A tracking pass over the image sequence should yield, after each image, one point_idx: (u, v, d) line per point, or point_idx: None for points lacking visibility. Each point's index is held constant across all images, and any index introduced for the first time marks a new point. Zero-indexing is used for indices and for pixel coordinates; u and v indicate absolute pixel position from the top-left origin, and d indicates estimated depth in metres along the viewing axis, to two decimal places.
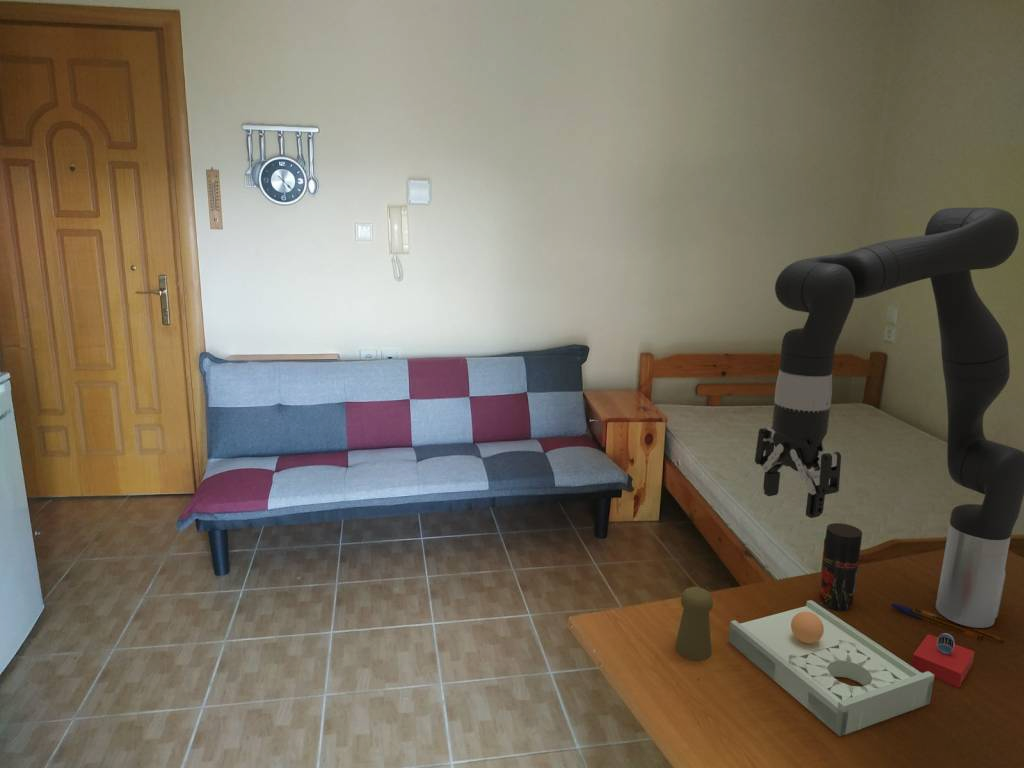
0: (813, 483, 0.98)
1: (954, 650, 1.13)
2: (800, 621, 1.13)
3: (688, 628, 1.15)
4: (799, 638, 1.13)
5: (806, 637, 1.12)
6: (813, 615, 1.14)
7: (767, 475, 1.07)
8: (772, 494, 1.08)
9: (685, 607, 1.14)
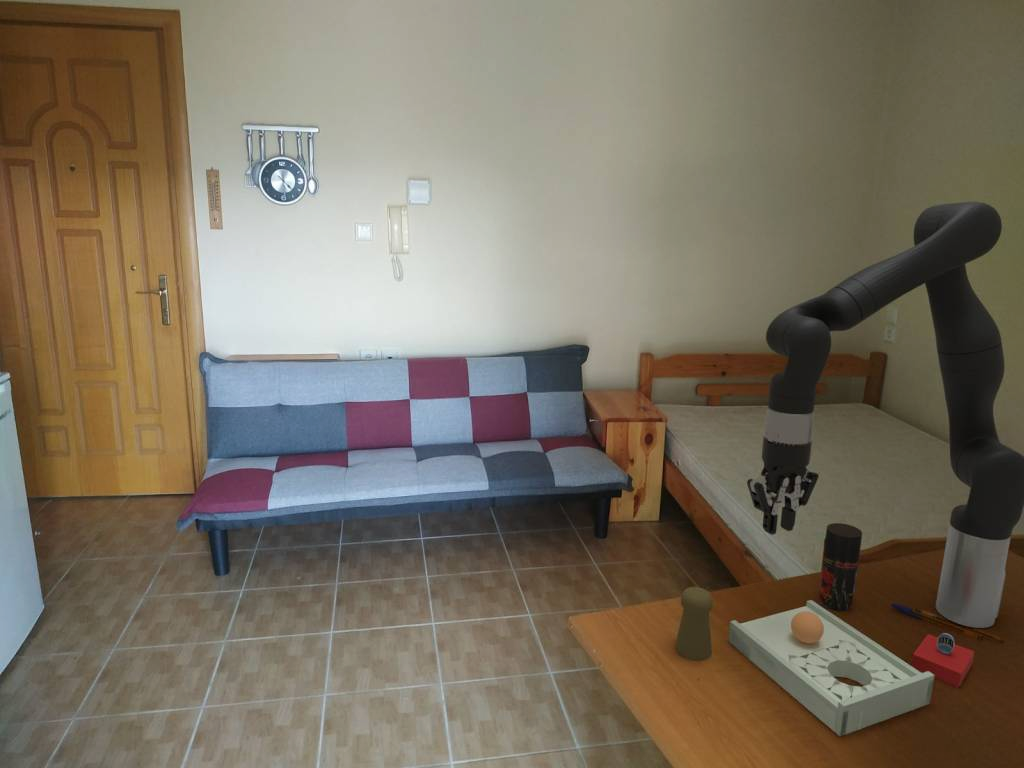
0: (797, 501, 1.18)
1: (954, 650, 1.13)
2: (800, 621, 1.13)
3: (688, 628, 1.15)
4: (799, 638, 1.13)
5: (806, 637, 1.12)
6: (813, 615, 1.14)
7: (776, 516, 1.16)
8: None
9: (685, 607, 1.14)
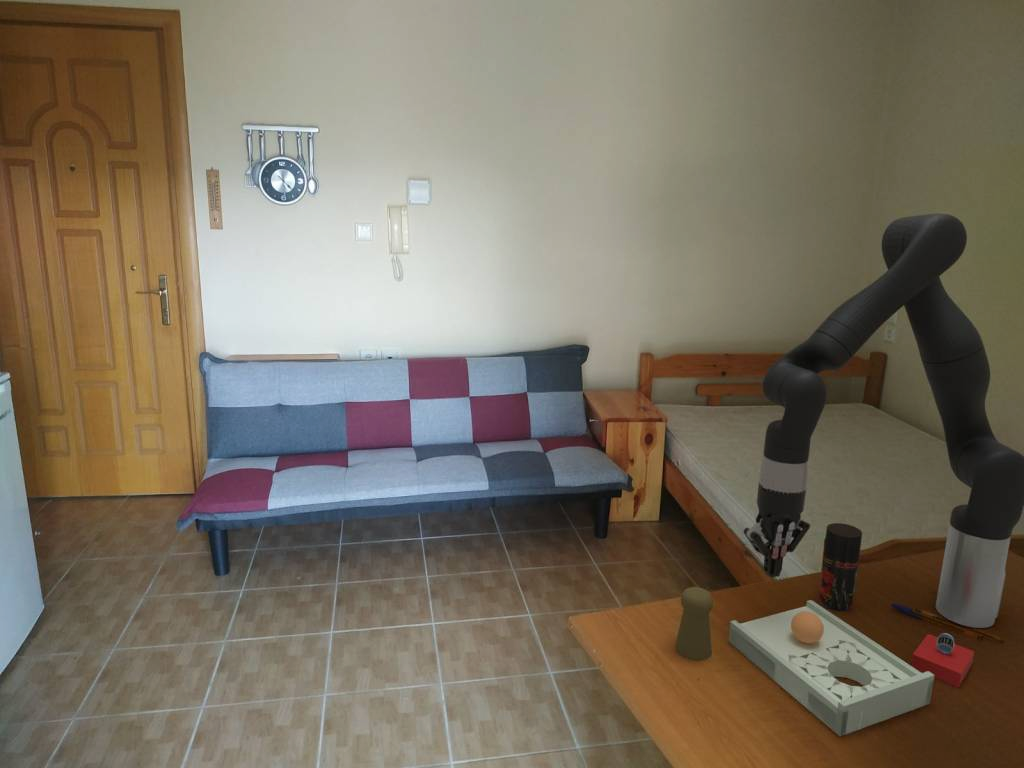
0: (786, 549, 1.19)
1: (954, 650, 1.13)
2: (800, 621, 1.13)
3: (688, 628, 1.15)
4: (799, 638, 1.13)
5: (806, 637, 1.12)
6: (813, 615, 1.14)
7: (776, 560, 1.19)
8: None
9: (685, 607, 1.14)
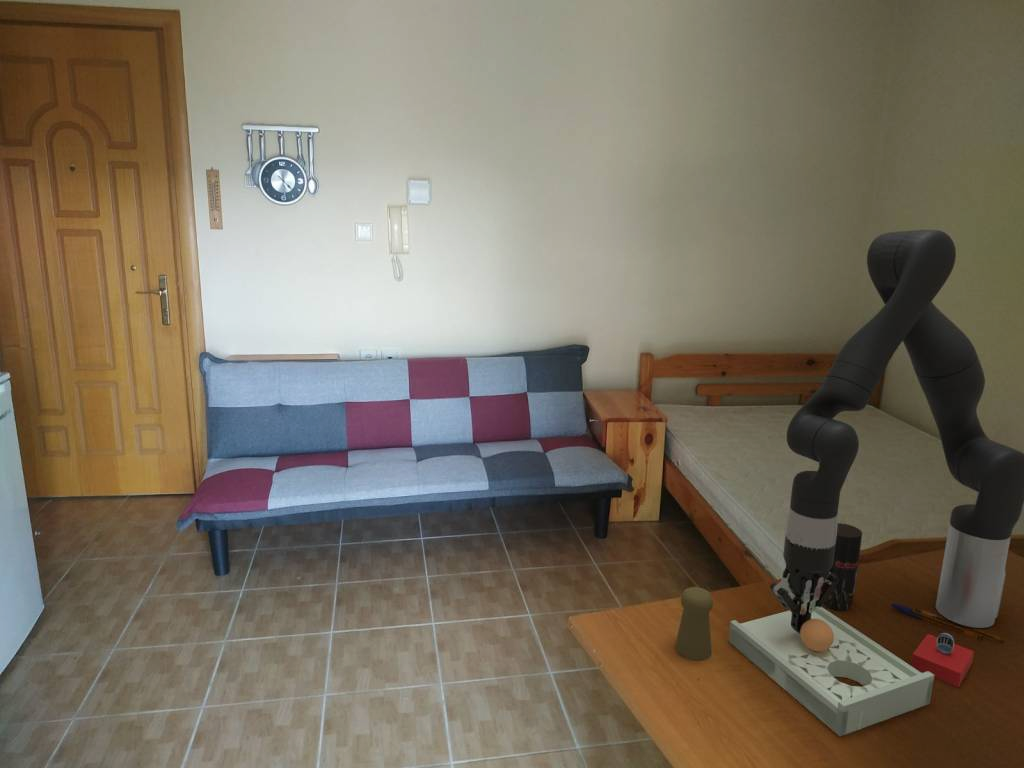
0: (814, 604, 1.15)
1: (954, 650, 1.13)
2: (814, 637, 1.10)
3: (688, 628, 1.15)
4: (804, 643, 1.12)
5: (812, 649, 1.11)
6: (830, 634, 1.10)
7: (804, 616, 1.14)
8: None
9: (685, 607, 1.14)
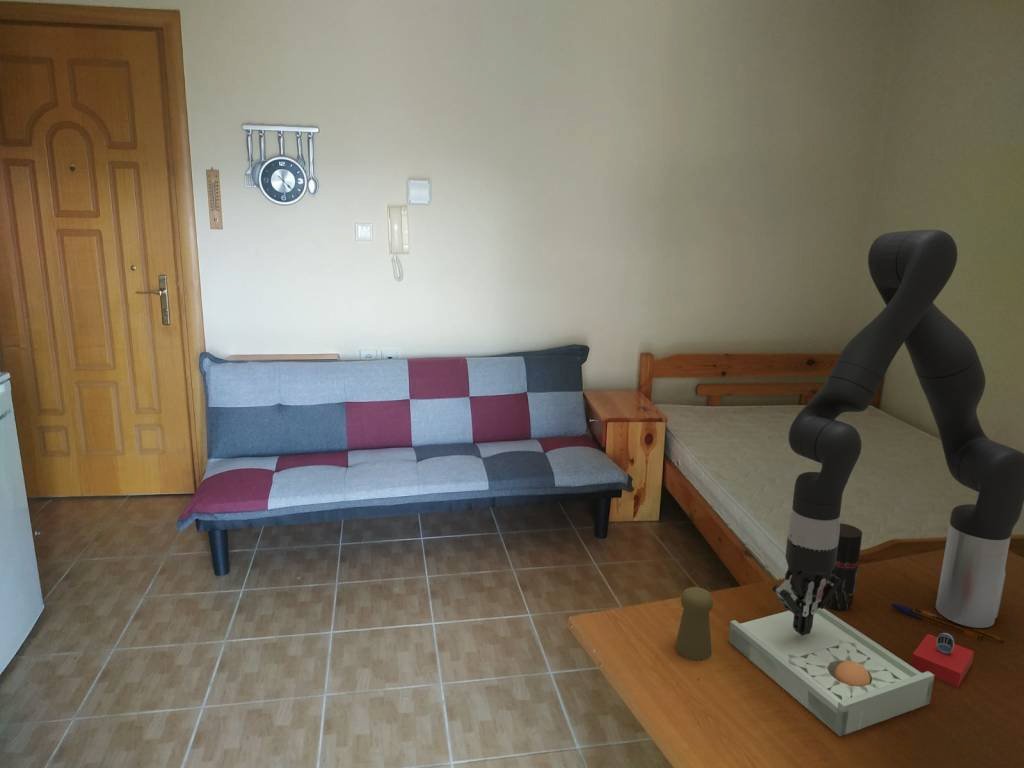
0: (816, 605, 1.14)
1: (954, 650, 1.13)
2: (834, 673, 1.08)
3: (688, 628, 1.15)
4: None
5: (844, 673, 1.05)
6: None
7: (807, 617, 1.14)
8: None
9: (685, 607, 1.14)
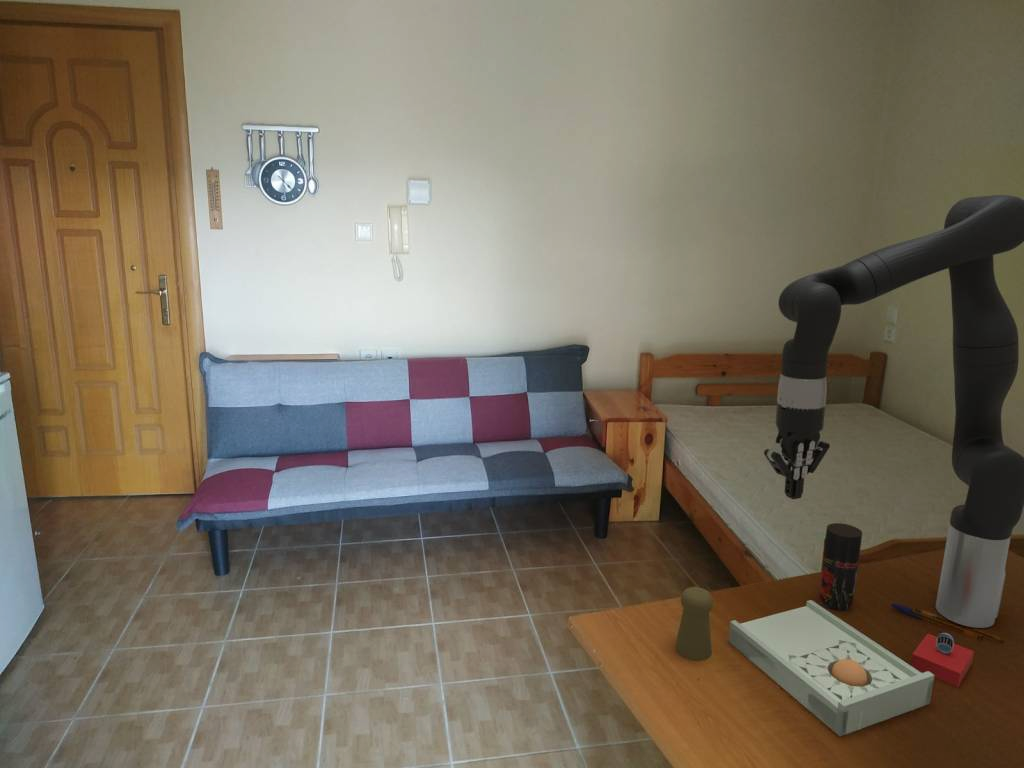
0: (806, 469, 1.19)
1: (953, 650, 1.13)
2: (831, 673, 1.08)
3: (688, 628, 1.15)
4: (843, 680, 1.05)
5: (840, 670, 1.06)
6: None
7: (798, 481, 1.18)
8: None
9: (685, 607, 1.14)
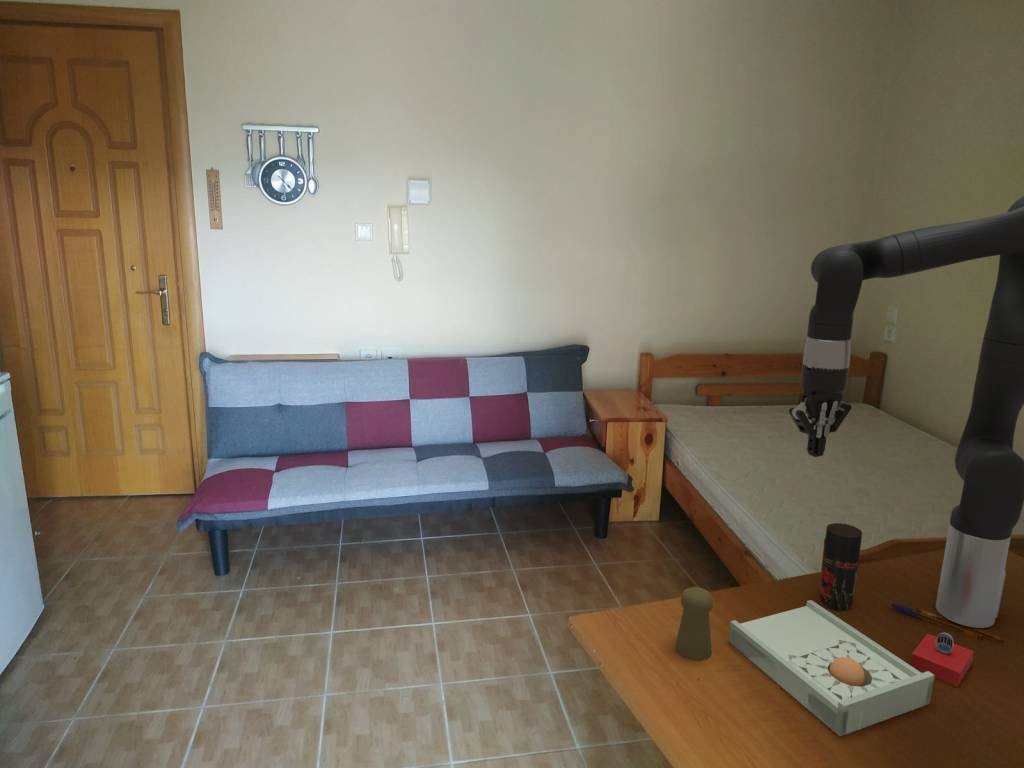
0: (829, 429, 1.25)
1: (953, 650, 1.14)
2: None
3: (688, 628, 1.15)
4: (840, 677, 1.06)
5: (836, 667, 1.07)
6: None
7: (820, 439, 1.25)
8: None
9: (685, 607, 1.14)
